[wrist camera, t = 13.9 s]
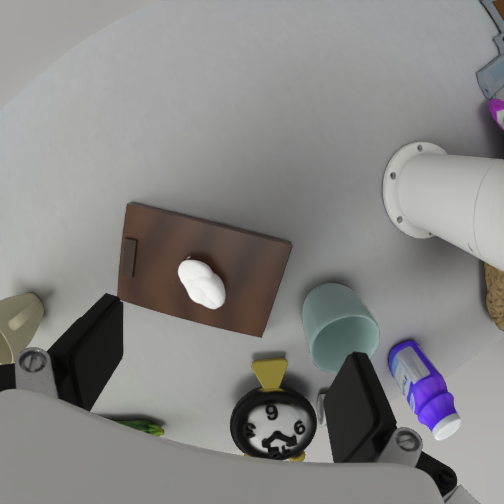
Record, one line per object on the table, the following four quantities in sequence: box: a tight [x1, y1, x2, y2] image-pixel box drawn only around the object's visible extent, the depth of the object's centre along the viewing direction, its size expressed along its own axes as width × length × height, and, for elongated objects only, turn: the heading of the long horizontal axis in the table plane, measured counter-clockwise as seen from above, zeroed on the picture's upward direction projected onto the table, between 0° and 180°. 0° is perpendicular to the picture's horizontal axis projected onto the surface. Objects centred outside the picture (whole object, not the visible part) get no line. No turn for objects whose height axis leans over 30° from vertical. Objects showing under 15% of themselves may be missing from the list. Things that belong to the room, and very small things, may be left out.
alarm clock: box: [230, 358, 317, 462], centre depth 37 cm, size 12×15×15 cm
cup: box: [302, 283, 380, 373], centre depth 32 cm, size 8×8×10 cm
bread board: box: [117, 202, 292, 338], centre depth 35 cm, size 20×13×2 cm, turn 75°
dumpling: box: [172, 257, 225, 309], centre depth 32 cm, size 7×5×4 cm
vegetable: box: [114, 420, 164, 437], centre depth 43 cm, size 7×7×20 cm
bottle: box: [389, 341, 462, 440], centre depth 32 cm, size 7×6×17 cm
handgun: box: [477, 0, 504, 99], centre depth 22 cm, size 4×25×15 cm
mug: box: [0, 293, 44, 364], centre depth 32 cm, size 11×10×12 cm
